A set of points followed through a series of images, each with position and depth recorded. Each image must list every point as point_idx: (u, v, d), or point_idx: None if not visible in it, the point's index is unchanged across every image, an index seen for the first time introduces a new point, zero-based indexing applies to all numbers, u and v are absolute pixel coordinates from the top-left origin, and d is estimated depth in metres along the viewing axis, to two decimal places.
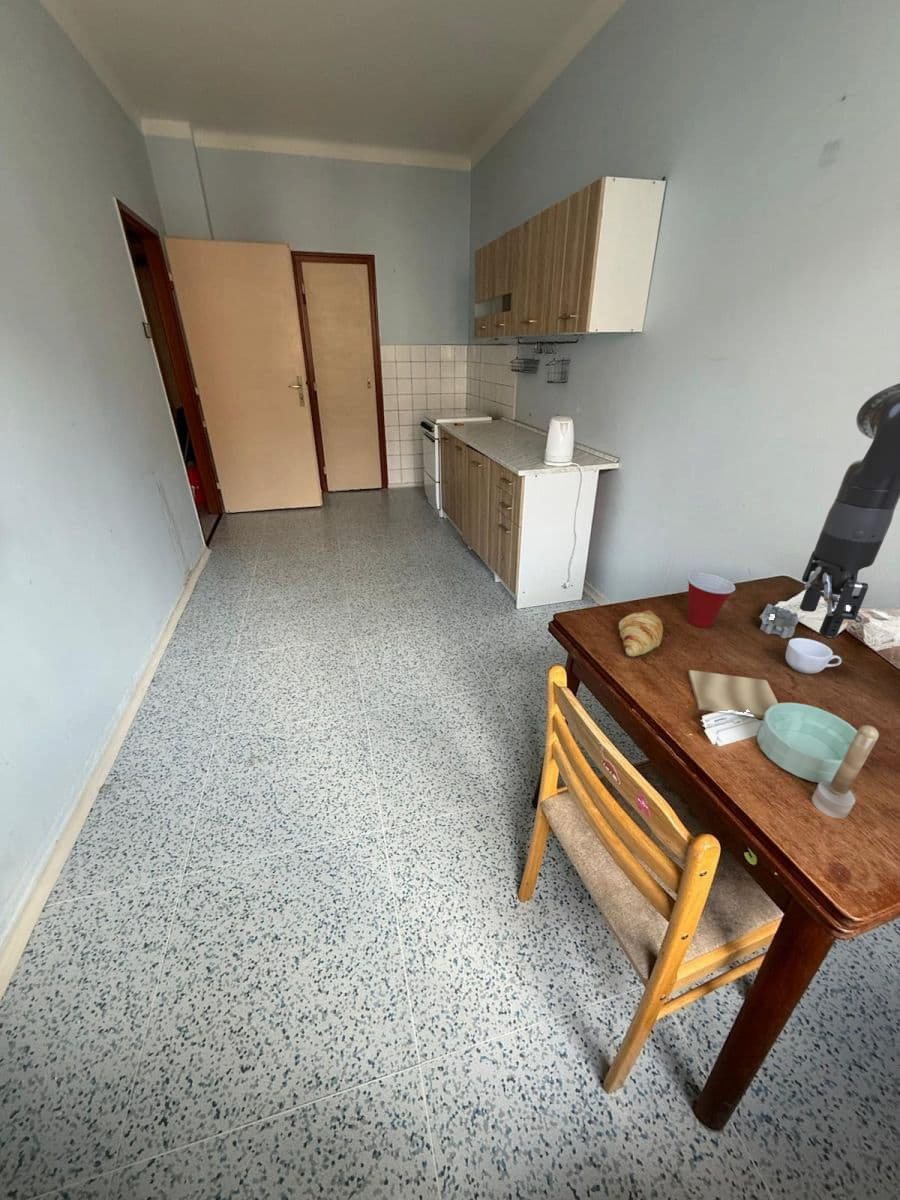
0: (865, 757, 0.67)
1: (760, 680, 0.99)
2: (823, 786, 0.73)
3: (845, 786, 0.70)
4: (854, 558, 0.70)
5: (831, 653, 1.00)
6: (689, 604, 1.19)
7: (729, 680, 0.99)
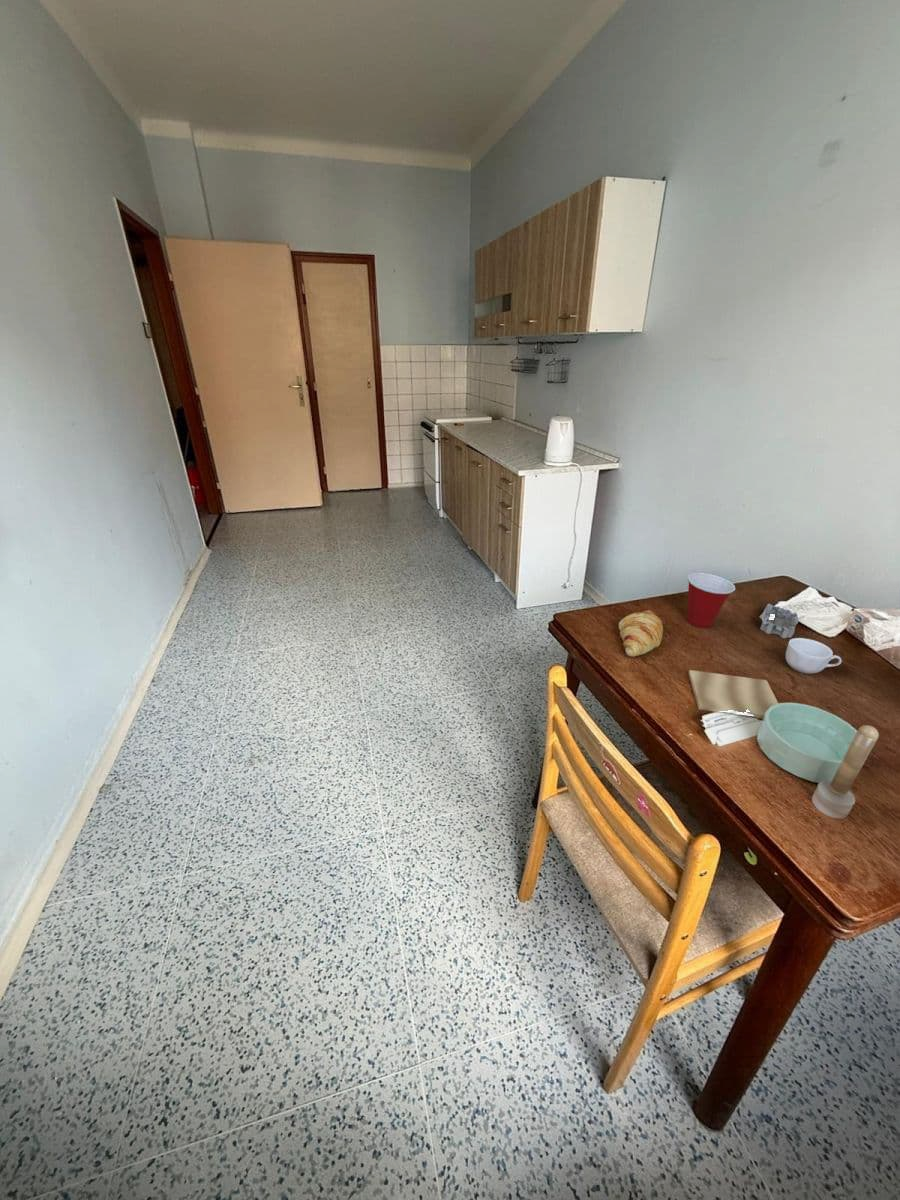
0: (865, 757, 0.67)
1: (760, 680, 0.99)
2: (823, 786, 0.73)
3: (845, 786, 0.70)
4: None
5: (831, 653, 1.00)
6: (689, 604, 1.19)
7: (729, 680, 0.99)
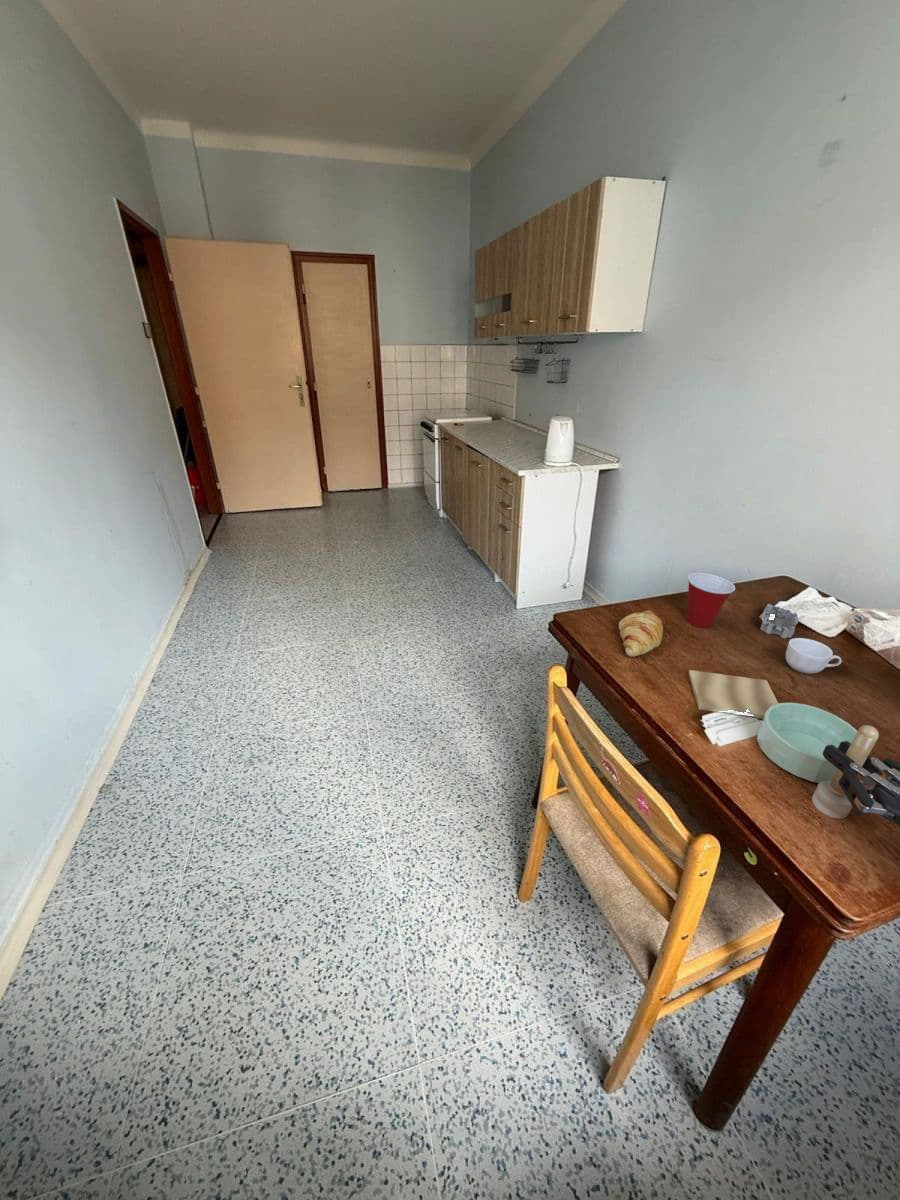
0: (865, 757, 0.67)
1: (760, 680, 0.99)
2: (823, 786, 0.73)
3: None
4: None
5: (831, 653, 1.00)
6: (689, 604, 1.19)
7: (729, 680, 0.99)
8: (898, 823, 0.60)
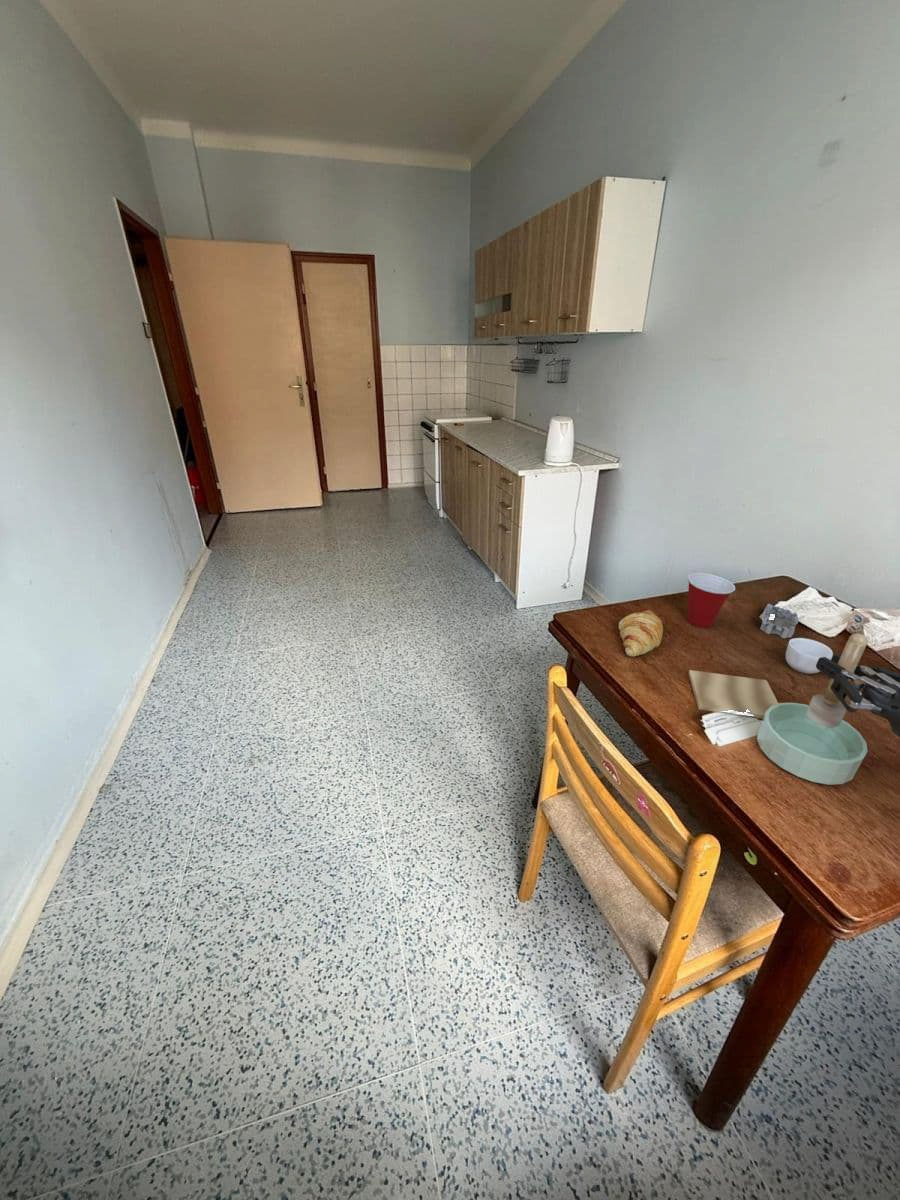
0: (855, 664, 0.71)
1: (760, 680, 0.99)
2: (817, 699, 0.77)
3: None
4: None
5: (831, 653, 1.00)
6: (689, 604, 1.19)
7: (729, 680, 0.99)
8: (885, 716, 0.65)
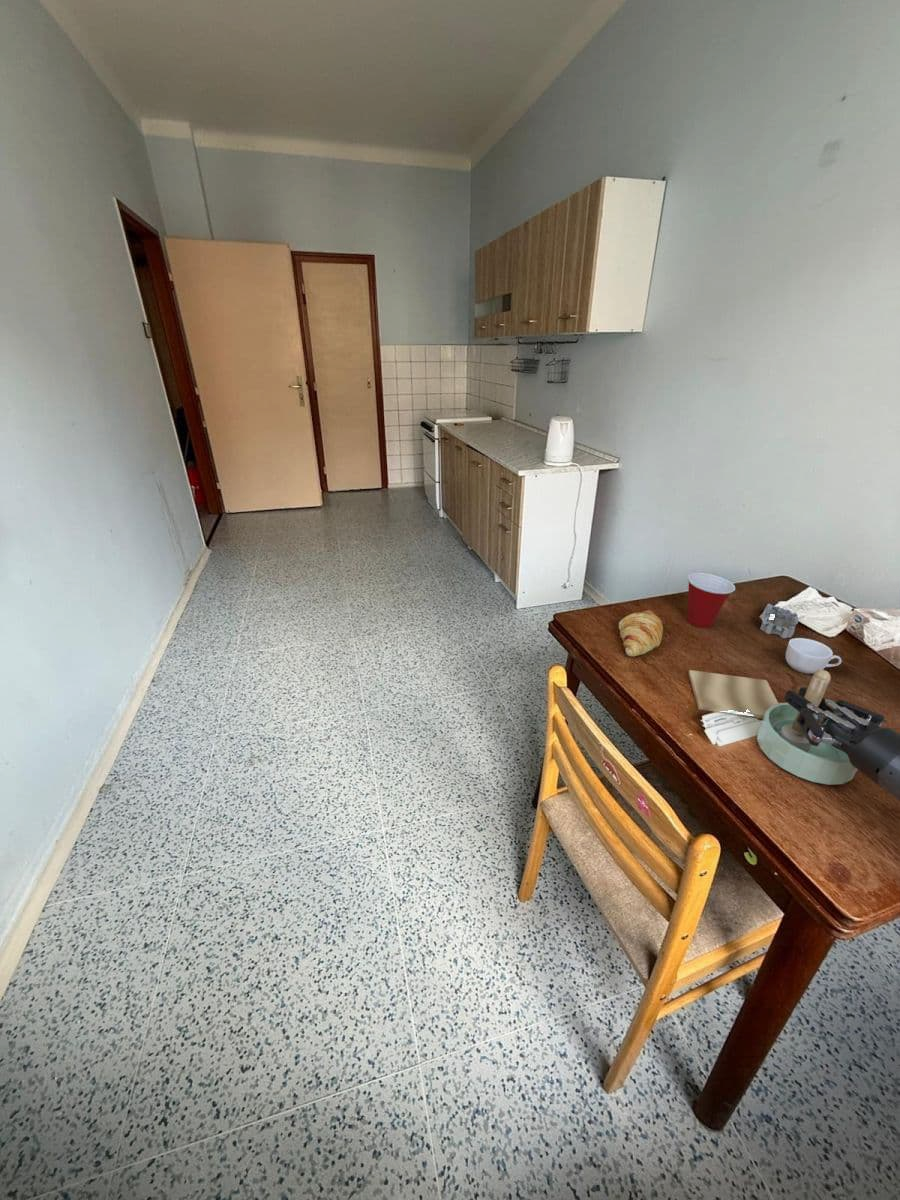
0: (820, 698, 0.76)
1: (760, 680, 0.99)
2: (786, 728, 0.82)
3: None
4: None
5: (831, 653, 1.00)
6: (689, 604, 1.19)
7: (729, 680, 0.99)
8: (844, 750, 0.69)
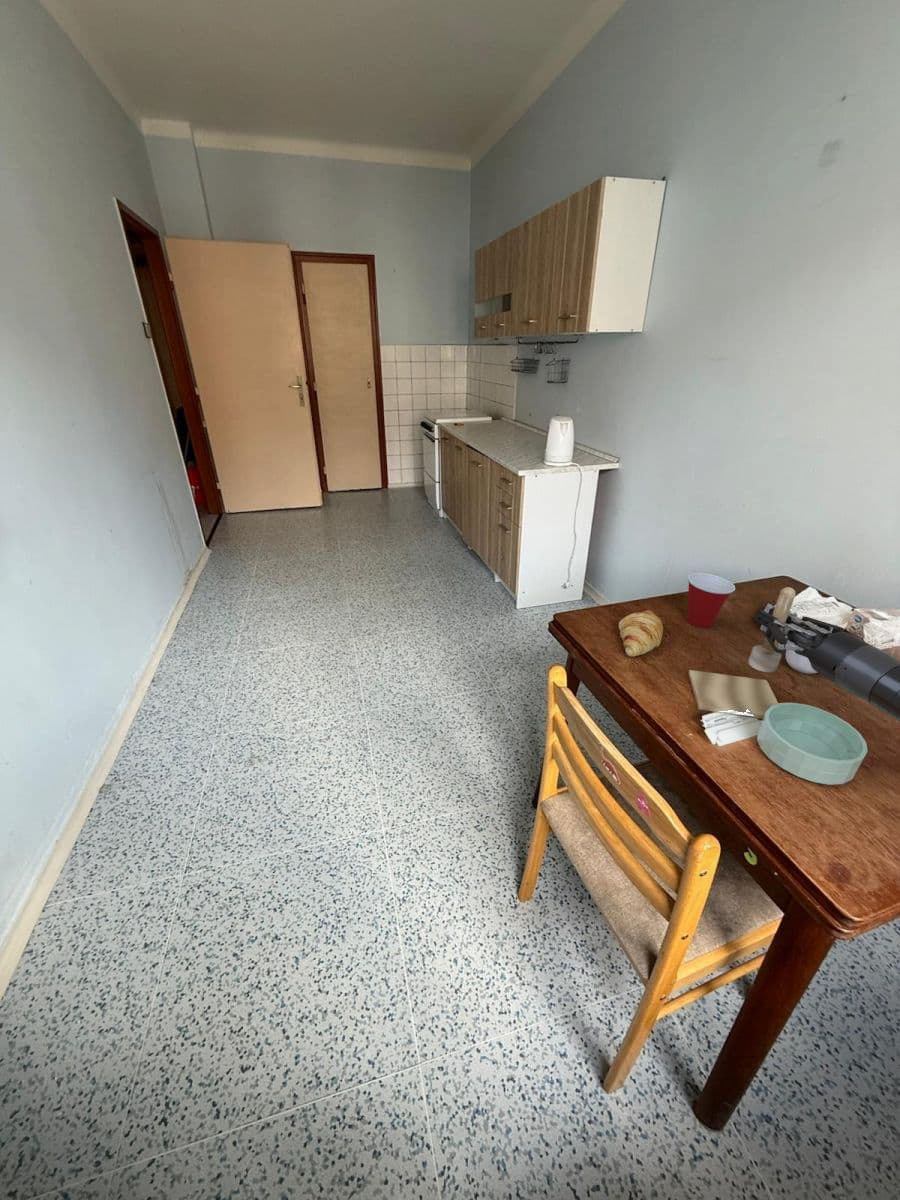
0: (786, 614, 0.82)
1: (760, 680, 0.99)
2: (757, 648, 0.88)
3: None
4: None
5: None
6: (689, 604, 1.19)
7: (729, 680, 0.99)
8: (806, 655, 0.75)
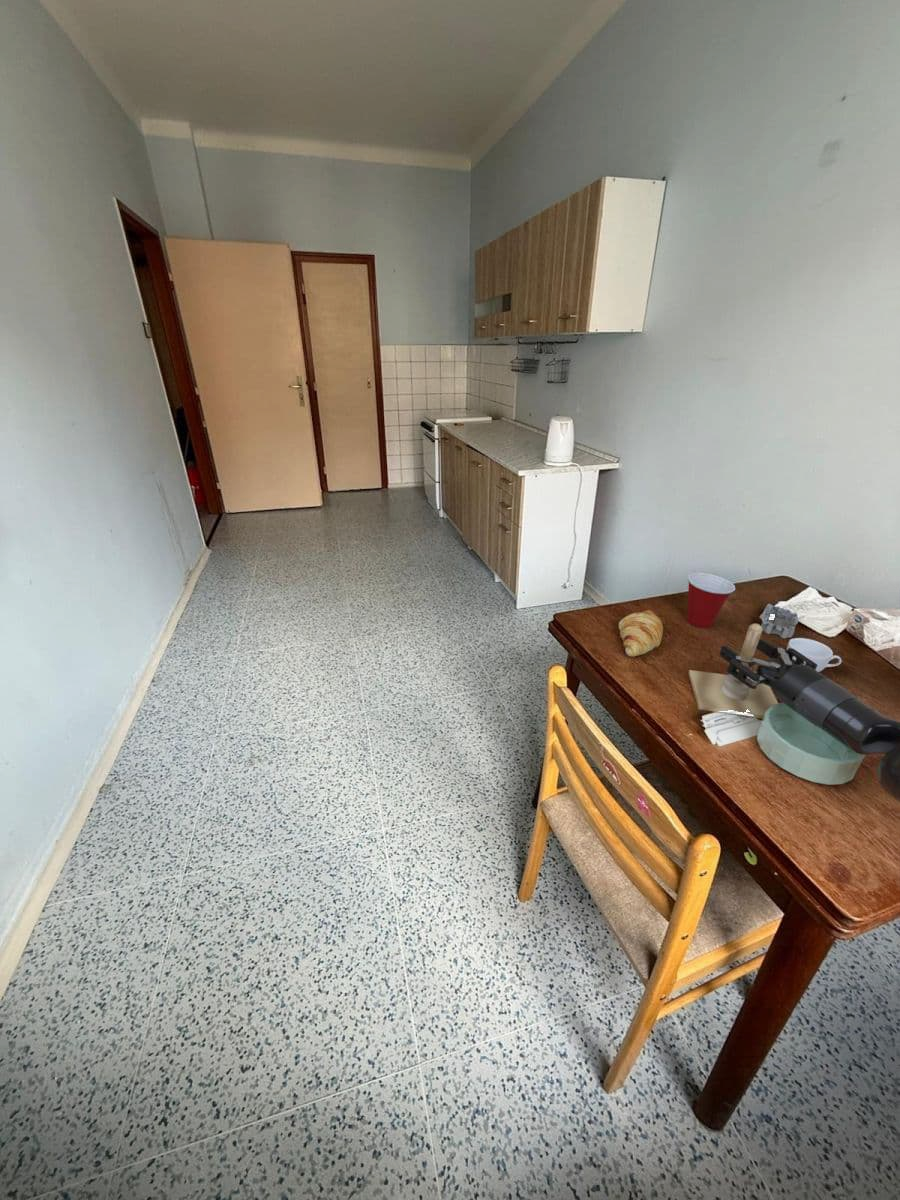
0: (754, 648, 0.89)
1: None
2: (729, 677, 0.95)
3: None
4: None
5: (831, 653, 1.00)
6: (689, 604, 1.19)
7: None
8: (770, 685, 0.83)
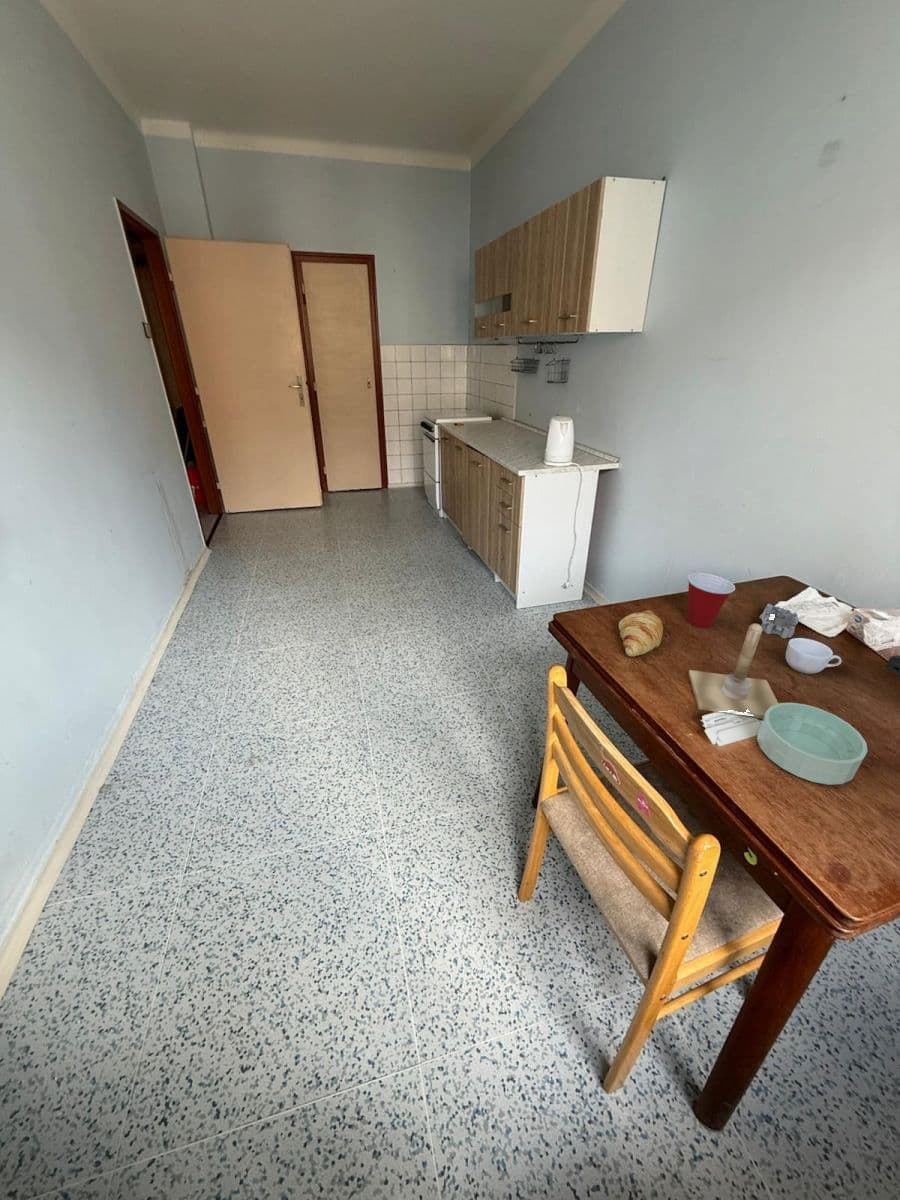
0: (754, 648, 0.89)
1: (760, 680, 0.99)
2: (729, 677, 0.95)
3: (742, 673, 0.92)
4: None
5: (831, 653, 1.00)
6: (689, 604, 1.19)
7: None
8: None
